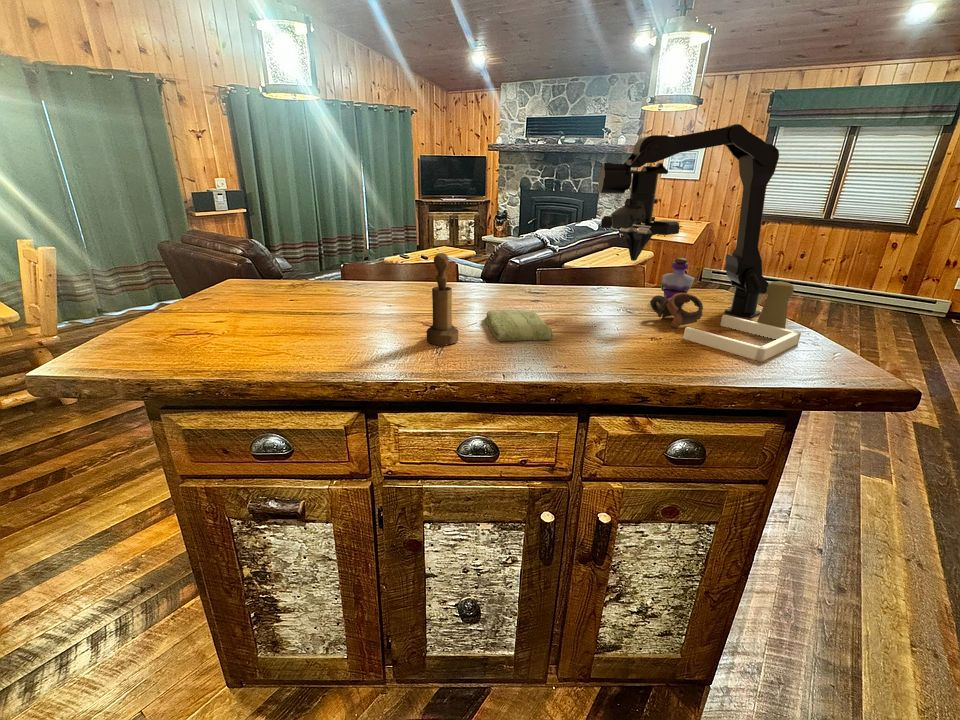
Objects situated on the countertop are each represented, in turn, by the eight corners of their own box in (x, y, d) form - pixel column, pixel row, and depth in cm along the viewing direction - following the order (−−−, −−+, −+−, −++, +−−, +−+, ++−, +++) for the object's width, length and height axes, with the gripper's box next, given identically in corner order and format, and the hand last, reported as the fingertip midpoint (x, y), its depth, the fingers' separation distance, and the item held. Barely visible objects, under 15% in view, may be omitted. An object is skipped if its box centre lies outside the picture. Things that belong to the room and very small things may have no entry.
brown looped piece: (696, 321, 116) (710, 297, 109) (687, 346, 111) (701, 323, 104) (649, 303, 119) (660, 279, 113) (638, 327, 114) (649, 303, 107)
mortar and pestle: (462, 337, 100) (463, 252, 93) (451, 347, 94) (450, 257, 87) (434, 334, 102) (432, 250, 95) (421, 343, 96) (418, 255, 89)
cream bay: (722, 324, 112) (724, 314, 111) (797, 343, 100) (801, 332, 99) (683, 338, 102) (685, 327, 101) (761, 361, 90) (764, 349, 89)
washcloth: (535, 318, 115) (536, 306, 114) (555, 343, 99) (556, 328, 98) (482, 320, 113) (482, 307, 112) (494, 345, 97) (494, 330, 96)
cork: (789, 333, 106) (802, 285, 102) (760, 331, 107) (772, 284, 103) (779, 325, 112) (791, 280, 107) (751, 323, 113) (762, 278, 108)
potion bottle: (654, 296, 136) (661, 254, 131) (685, 298, 135) (693, 256, 130) (661, 304, 128) (668, 260, 123) (694, 306, 127) (702, 261, 122)
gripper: (589, 193, 113) (583, 258, 119) (658, 197, 100) (647, 270, 106) (618, 192, 120) (610, 254, 126) (686, 196, 106) (674, 265, 112)
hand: (633, 260), depth 117 cm, fingers closed
